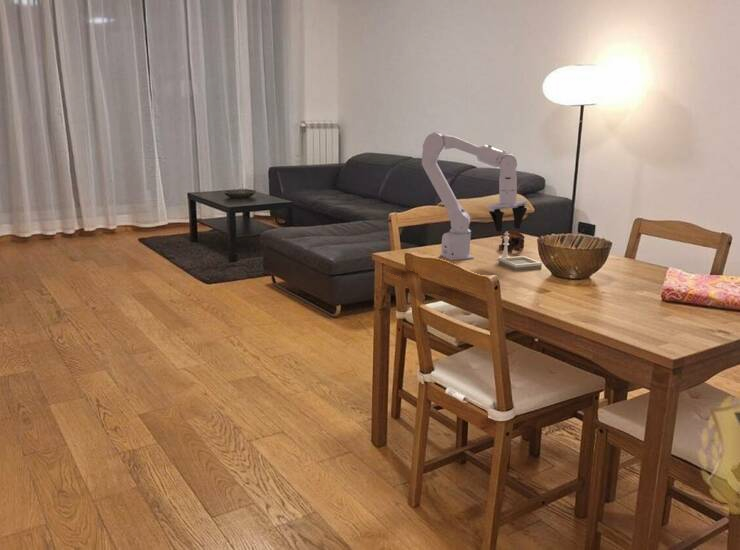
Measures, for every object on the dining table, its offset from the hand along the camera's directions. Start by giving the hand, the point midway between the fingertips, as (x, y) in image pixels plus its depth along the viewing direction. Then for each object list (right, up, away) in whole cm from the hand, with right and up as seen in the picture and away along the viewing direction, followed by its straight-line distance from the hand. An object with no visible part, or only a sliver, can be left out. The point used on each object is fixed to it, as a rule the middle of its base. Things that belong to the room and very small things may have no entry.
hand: (508, 229), depth 223 cm
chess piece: (-1, -10, +2) cm, 11 cm away
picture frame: (+3, -13, -6) cm, 14 cm away
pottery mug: (+5, -7, +16) cm, 18 cm away
